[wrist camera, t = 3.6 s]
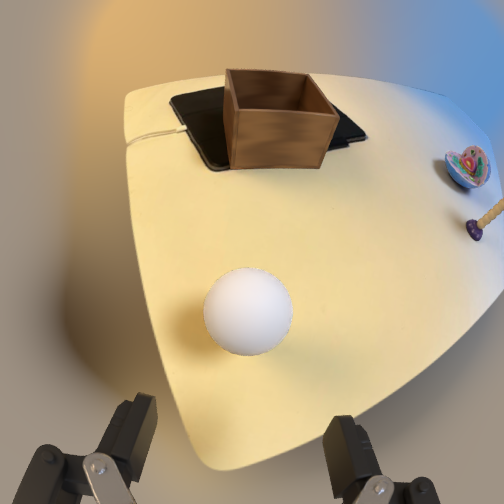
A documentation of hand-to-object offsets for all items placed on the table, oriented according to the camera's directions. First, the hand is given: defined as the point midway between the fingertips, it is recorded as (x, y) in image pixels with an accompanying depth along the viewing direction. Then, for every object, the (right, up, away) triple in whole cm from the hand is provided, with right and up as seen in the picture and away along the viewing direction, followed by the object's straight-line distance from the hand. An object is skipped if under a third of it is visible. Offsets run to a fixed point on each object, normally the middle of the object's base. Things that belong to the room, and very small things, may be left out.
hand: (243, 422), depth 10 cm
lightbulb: (-1, -1, +15) cm, 15 cm away
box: (+3, +25, +29) cm, 39 cm away
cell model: (+44, +23, +34) cm, 60 cm away
